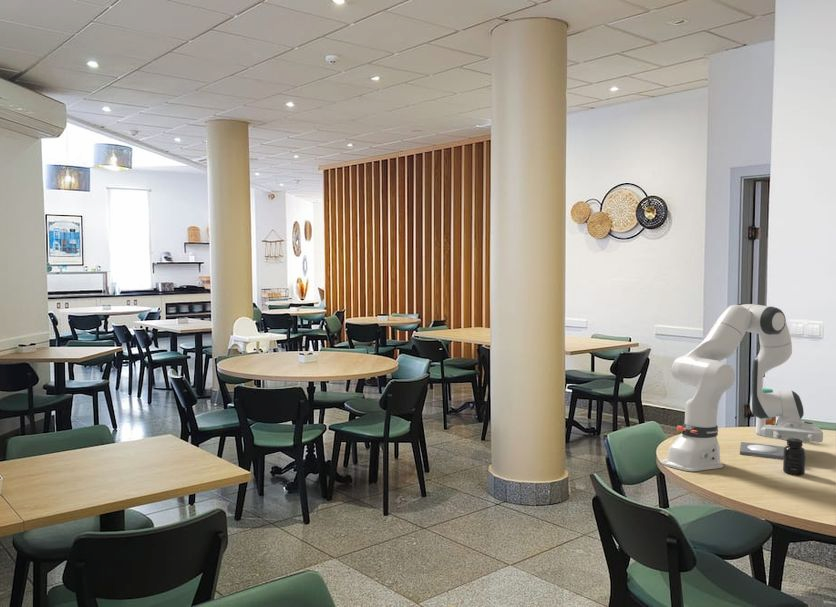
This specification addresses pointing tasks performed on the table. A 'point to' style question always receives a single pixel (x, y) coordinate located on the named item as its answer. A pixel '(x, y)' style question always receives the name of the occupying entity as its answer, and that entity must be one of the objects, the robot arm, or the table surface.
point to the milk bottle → (764, 421)
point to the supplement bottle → (794, 457)
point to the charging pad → (762, 450)
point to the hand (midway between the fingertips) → (793, 438)
